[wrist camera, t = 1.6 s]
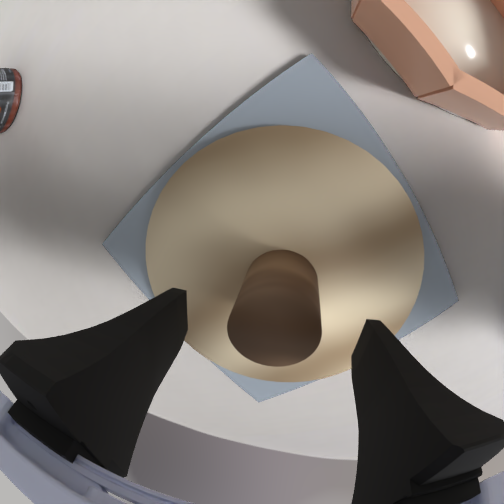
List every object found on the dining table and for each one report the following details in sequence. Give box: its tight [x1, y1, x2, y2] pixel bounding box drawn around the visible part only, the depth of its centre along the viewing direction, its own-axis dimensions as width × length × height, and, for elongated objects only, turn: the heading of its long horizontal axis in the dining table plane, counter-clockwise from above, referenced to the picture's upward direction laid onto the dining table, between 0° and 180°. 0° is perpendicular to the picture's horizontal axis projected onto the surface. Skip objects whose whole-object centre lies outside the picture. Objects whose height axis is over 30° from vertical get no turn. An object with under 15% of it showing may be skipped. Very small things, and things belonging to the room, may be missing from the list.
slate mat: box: [102, 53, 459, 402], centre depth 15 cm, size 16×16×1 cm
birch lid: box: [146, 125, 424, 382], centre depth 12 cm, size 15×15×5 cm
